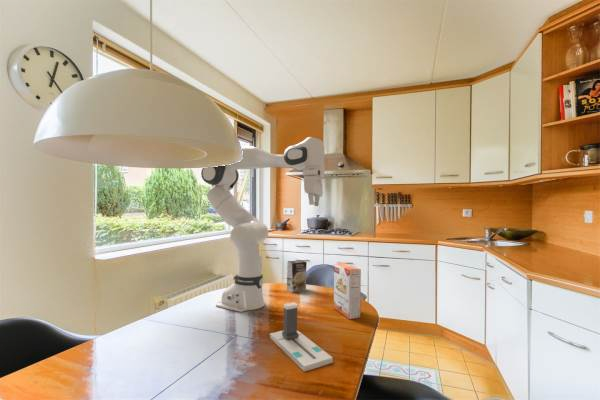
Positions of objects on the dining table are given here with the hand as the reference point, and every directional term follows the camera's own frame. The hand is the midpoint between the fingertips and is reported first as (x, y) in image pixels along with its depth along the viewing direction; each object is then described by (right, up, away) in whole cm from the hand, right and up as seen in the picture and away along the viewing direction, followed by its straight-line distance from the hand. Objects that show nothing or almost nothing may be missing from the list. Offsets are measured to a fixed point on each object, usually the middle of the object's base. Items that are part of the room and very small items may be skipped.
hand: (314, 205), depth 126 cm
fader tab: (-10, -45, -26) cm, 53 cm away
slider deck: (-7, -47, -31) cm, 57 cm away
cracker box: (+14, -48, +1) cm, 50 cm away
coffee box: (-8, -48, +35) cm, 60 cm away
